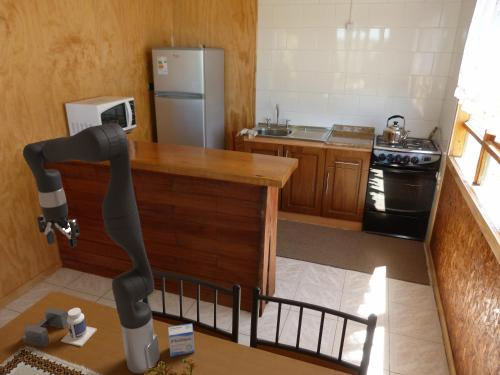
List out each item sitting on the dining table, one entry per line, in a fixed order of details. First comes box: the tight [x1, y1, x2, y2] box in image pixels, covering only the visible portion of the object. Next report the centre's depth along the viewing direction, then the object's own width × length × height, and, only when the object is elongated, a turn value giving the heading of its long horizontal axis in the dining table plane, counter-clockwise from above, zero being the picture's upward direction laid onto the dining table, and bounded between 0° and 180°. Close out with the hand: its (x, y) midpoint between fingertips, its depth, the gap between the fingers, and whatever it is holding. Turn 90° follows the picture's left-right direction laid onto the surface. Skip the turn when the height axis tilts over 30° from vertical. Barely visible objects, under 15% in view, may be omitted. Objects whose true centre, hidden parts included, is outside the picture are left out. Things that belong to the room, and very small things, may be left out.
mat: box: [60, 325, 98, 347], centre depth 129 cm, size 8×8×1 cm
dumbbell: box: [21, 306, 68, 349], centre depth 131 cm, size 9×14×6 cm, turn 164°
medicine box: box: [167, 323, 196, 357], centre depth 122 cm, size 8×4×9 cm, turn 104°
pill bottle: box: [67, 307, 87, 339], centre depth 128 cm, size 5×5×10 cm
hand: (62, 245), depth 127 cm, fingers open, 8 cm apart
